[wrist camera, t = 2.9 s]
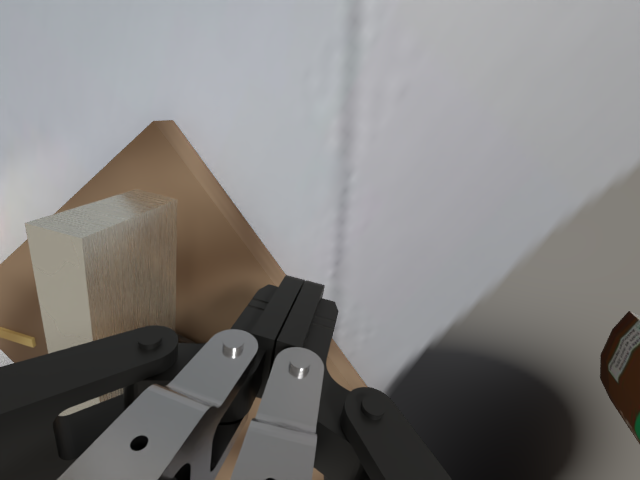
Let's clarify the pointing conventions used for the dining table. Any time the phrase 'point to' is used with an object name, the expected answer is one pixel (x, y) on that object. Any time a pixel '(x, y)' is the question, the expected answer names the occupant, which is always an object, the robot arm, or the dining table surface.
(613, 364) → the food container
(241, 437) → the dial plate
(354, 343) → the dining table surface
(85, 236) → the beige bar and knob
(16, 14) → the dining table surface
